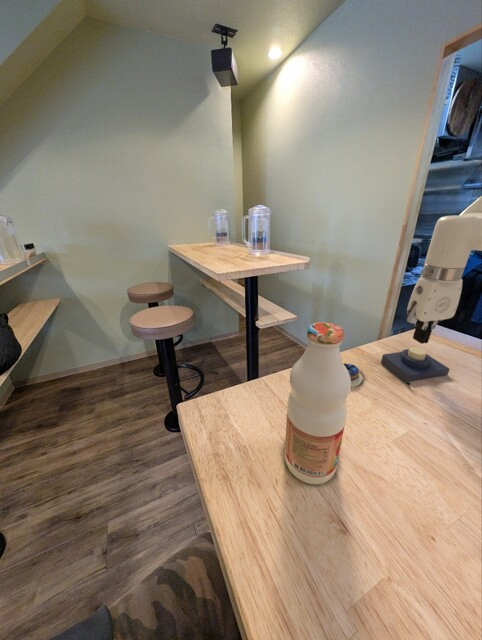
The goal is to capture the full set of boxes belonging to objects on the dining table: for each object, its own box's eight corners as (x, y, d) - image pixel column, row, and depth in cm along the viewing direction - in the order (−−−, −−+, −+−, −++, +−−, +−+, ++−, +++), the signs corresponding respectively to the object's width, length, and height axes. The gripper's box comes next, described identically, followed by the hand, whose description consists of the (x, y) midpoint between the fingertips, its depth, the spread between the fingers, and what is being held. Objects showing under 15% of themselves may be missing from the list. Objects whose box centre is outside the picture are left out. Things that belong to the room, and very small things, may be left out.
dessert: (347, 364, 73) (358, 356, 68) (359, 385, 70) (372, 379, 65) (324, 372, 71) (333, 365, 66) (336, 395, 68) (347, 389, 63)
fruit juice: (277, 445, 51) (282, 319, 39) (320, 435, 52) (337, 312, 40) (296, 492, 42) (310, 351, 30) (346, 479, 44) (378, 340, 32)
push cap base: (416, 358, 76) (420, 343, 74) (446, 378, 67) (452, 363, 65) (380, 363, 74) (383, 349, 72) (406, 385, 65) (411, 369, 63)
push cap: (416, 352, 71) (418, 345, 70) (428, 360, 67) (430, 353, 66) (403, 354, 70) (405, 347, 69) (415, 362, 67) (417, 355, 66)
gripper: (427, 279, 54) (405, 351, 62) (484, 274, 56) (457, 344, 64) (401, 271, 61) (384, 337, 69) (453, 267, 63) (432, 331, 71)
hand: (419, 340), depth 66 cm, fingers closed
